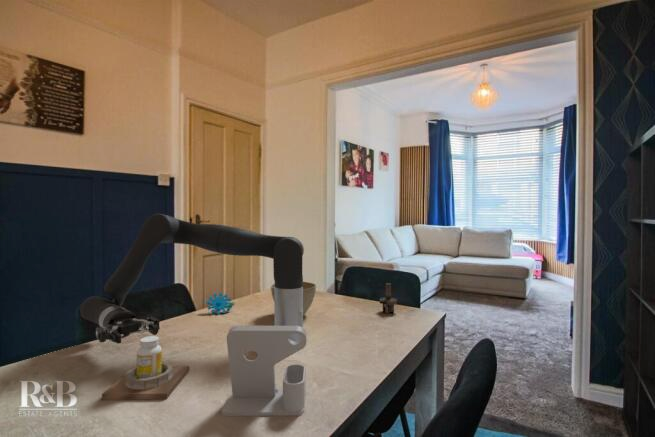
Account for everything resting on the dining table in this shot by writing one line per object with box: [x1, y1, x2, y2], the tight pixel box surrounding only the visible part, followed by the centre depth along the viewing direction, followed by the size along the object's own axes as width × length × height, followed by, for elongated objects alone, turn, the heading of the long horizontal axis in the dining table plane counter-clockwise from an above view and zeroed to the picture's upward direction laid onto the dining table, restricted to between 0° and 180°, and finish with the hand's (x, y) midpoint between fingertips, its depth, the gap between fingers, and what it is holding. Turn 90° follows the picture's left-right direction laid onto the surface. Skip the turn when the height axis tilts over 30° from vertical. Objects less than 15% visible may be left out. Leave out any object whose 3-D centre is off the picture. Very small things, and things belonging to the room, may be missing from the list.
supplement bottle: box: [136, 335, 163, 378], centre depth 84 cm, size 5×5×10 cm
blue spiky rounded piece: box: [206, 292, 235, 316], centre depth 147 cm, size 11×6×10 cm
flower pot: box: [270, 281, 317, 316], centre depth 142 cm, size 18×18×12 cm
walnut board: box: [101, 361, 190, 401], centre depth 84 cm, size 14×14×3 cm
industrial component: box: [379, 282, 398, 314], centre depth 147 cm, size 9×7×12 cm
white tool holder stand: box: [221, 325, 308, 417], centre depth 76 cm, size 17×10×18 cm, turn 91°
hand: (138, 335), depth 89 cm, fingers open, 8 cm apart
